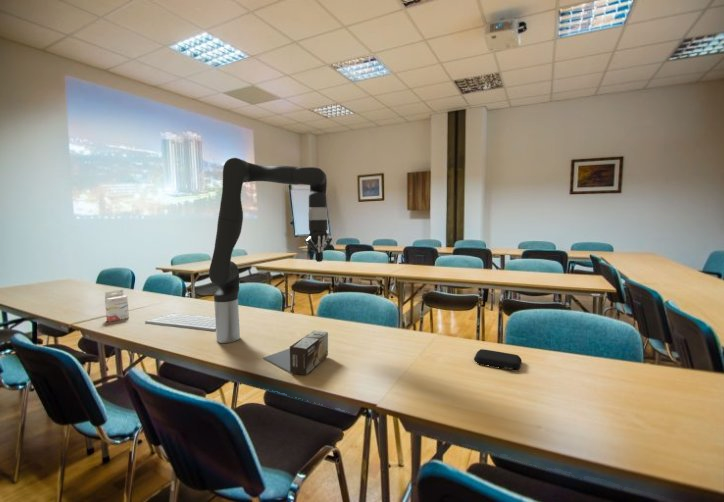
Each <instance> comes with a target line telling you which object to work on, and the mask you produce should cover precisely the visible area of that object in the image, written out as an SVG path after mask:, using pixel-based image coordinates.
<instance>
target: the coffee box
mask: <svg viewBox="0 0 724 502" xmlns="http://www.w3.org/2000/svg"><path fill="white" fill-rule="evenodd" d="M289 348H290V372H293V373H294V374H297V375H298V374H299V375H308V374H309V373H310V372H311V371H312V370H313V369H314V368H316V367H317V365H319V364H320V363H322V362H321V361H322V360H323V361H324V359H326V358H327V357H328V355H329V333H328V331H323V330H312V331H311V332H309V333H308V334H306V335H305V336H303V337H302V338H301V339H299V340H297V341H296V342H294V343H293V344H292V345H290V346H289Z"/></svg>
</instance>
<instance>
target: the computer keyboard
mask: <svg viewBox="0 0 724 502" xmlns="http://www.w3.org/2000/svg"><path fill="white" fill-rule="evenodd" d="M189 315H190V314H185V315H180V313H171V314H167V315H164V316H159V317H156V318H152V319H148V320H144V323H145V324H150V325H156V326H157V325H158V326H159V325H160V326H166V327H173V328H174V327H175V328H184V329H192V330H200V331H210V332H216V321H215V318H210V317H211V316H205V317H203V315H195V316H189Z"/></svg>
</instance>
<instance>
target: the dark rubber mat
mask: <svg viewBox="0 0 724 502" xmlns="http://www.w3.org/2000/svg"><path fill="white" fill-rule="evenodd" d="M262 359H263V360H264V361H267V362H269V363H271V364H272V365H274V366H276V367H278V368H280V369H282V370H283V371H285V372H287V373H289V374H291V375H294V374H295V373H293V372H290V347H289V348H287V349H284V350H281V351H277V352H276V353H275V352H274V353H272V354H269V355H266V356H263V358H262ZM323 361H324V359H323V360H322V361H321V362H320V363H323Z"/></svg>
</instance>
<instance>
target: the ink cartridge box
mask: <svg viewBox="0 0 724 502" xmlns="http://www.w3.org/2000/svg"><path fill="white" fill-rule="evenodd" d="M104 295H105V296H104V305H105V315H106V316H105V317H106V322H107V321H108V322H109V323H110V322H111V323H112V322H115V321H116V320H117V321H122V320H126V319H129V318H130V316H129V314H130V313H129V302H128V300H129V299H128V295H124V289H118V290H117V289H116V290H112V291H105V292H104ZM125 318H126V319H125ZM121 319H122V320H121Z"/></svg>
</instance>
